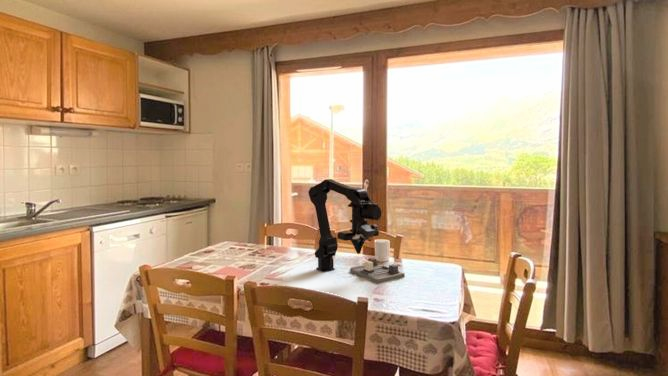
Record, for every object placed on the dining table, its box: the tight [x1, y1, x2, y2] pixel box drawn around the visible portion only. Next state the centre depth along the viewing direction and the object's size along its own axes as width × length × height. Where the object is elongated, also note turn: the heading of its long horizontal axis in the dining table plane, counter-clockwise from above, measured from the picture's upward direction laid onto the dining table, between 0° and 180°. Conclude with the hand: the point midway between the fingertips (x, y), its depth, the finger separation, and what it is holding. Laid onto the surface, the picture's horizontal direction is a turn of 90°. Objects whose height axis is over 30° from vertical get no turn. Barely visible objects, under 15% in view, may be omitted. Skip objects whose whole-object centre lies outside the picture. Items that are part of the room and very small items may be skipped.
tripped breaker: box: [363, 260, 374, 274], centre depth 178 cm, size 3×4×5 cm
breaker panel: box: [349, 257, 405, 284], centre depth 180 cm, size 15×20×5 cm
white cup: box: [374, 238, 391, 263], centre depth 205 cm, size 8×8×10 cm
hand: (358, 253), depth 174 cm, fingers closed
